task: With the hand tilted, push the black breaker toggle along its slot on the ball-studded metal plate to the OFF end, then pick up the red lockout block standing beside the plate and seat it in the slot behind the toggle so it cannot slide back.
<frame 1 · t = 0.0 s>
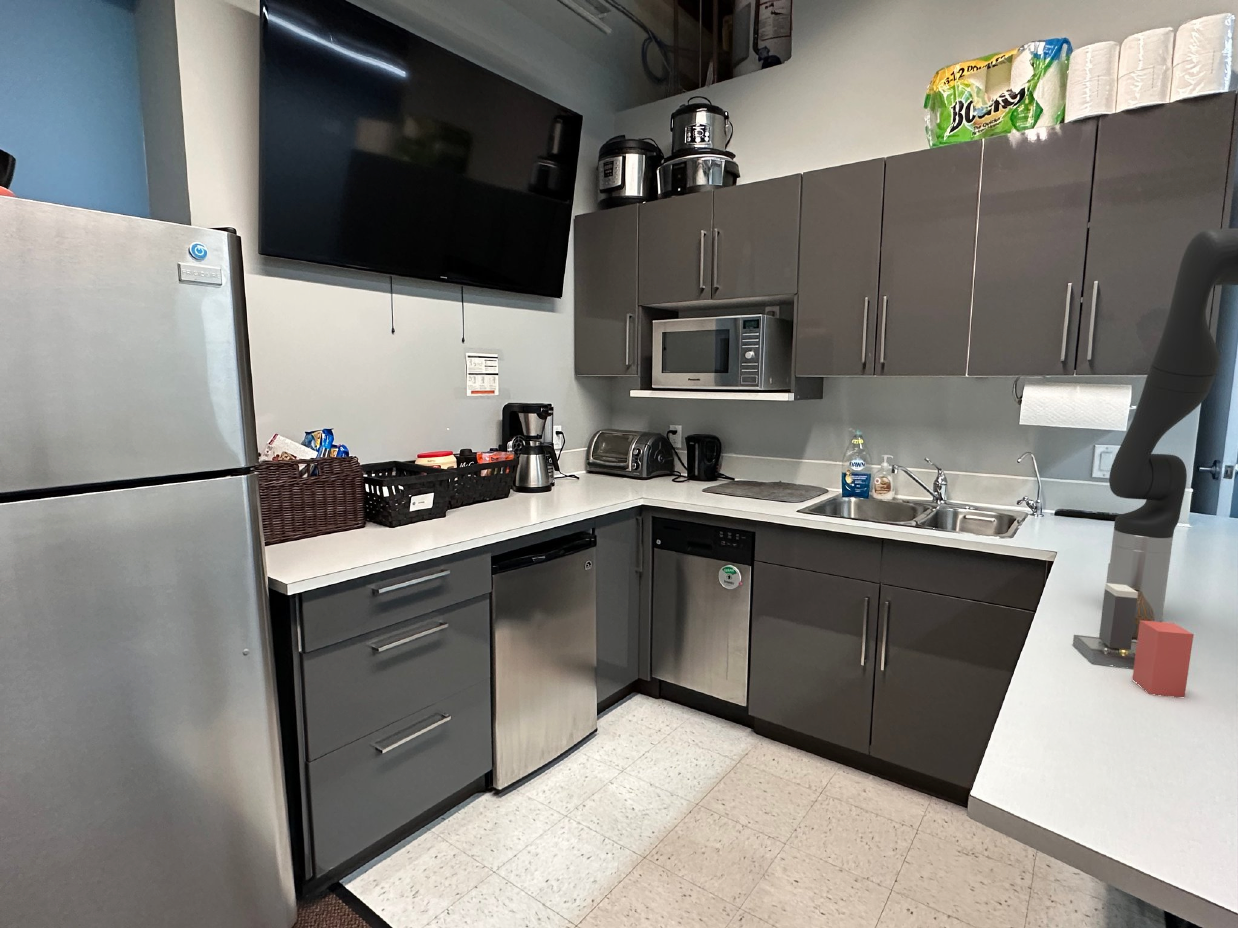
ball-studded metal plate: (1126, 659, 106), on the worktop
breaker toggle: (1117, 615, 106), point 8 cm above the worktop, slide at 0.0 cm
vase: (1127, 635, 117), on the worktop
lockout block: (1157, 689, 96), on the worktop
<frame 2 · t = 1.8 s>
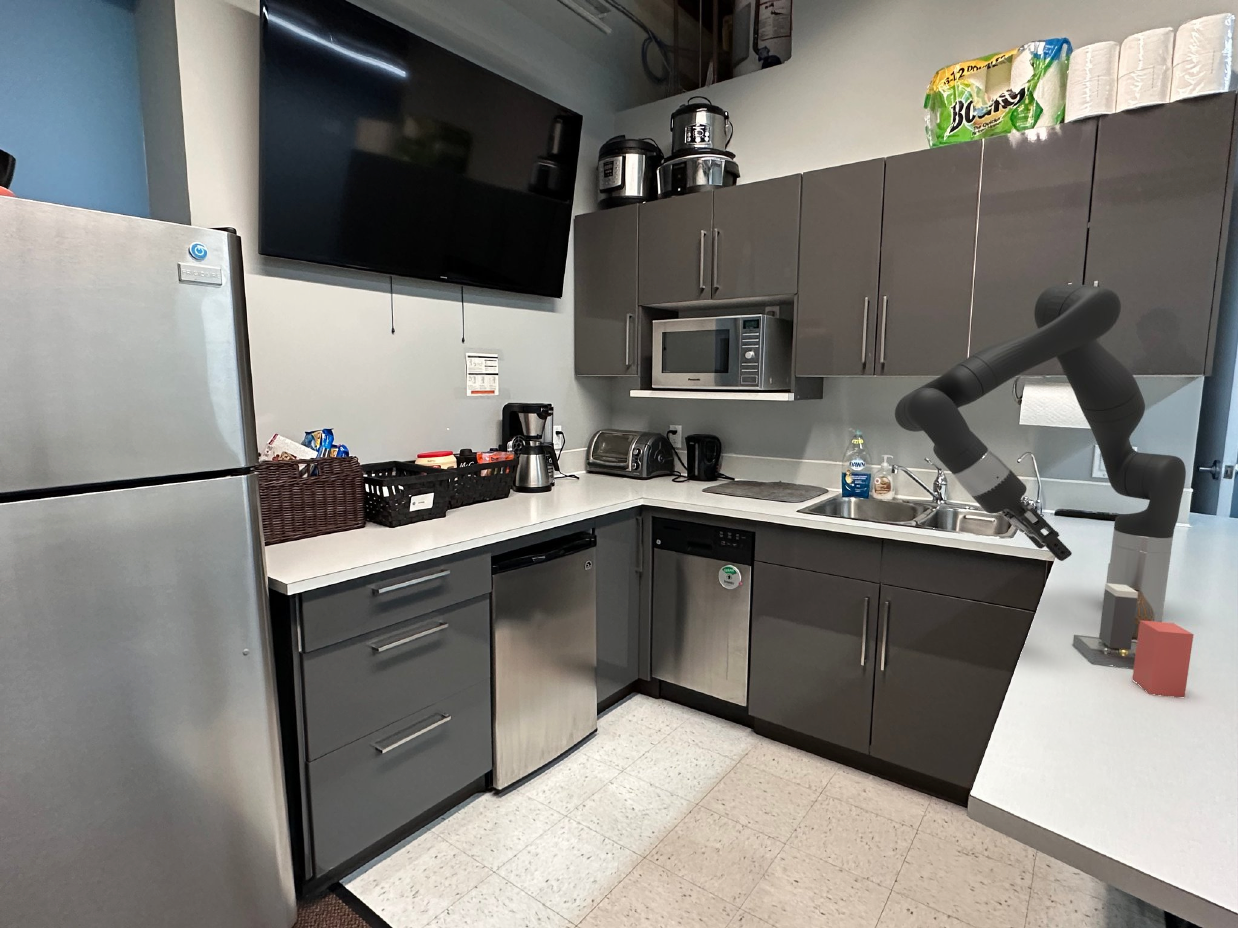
hand: (1055, 551, 106), 18 cm above the worktop, tool tilted 45°, fingers open, 8 cm apart
nothing on the worktop moved.
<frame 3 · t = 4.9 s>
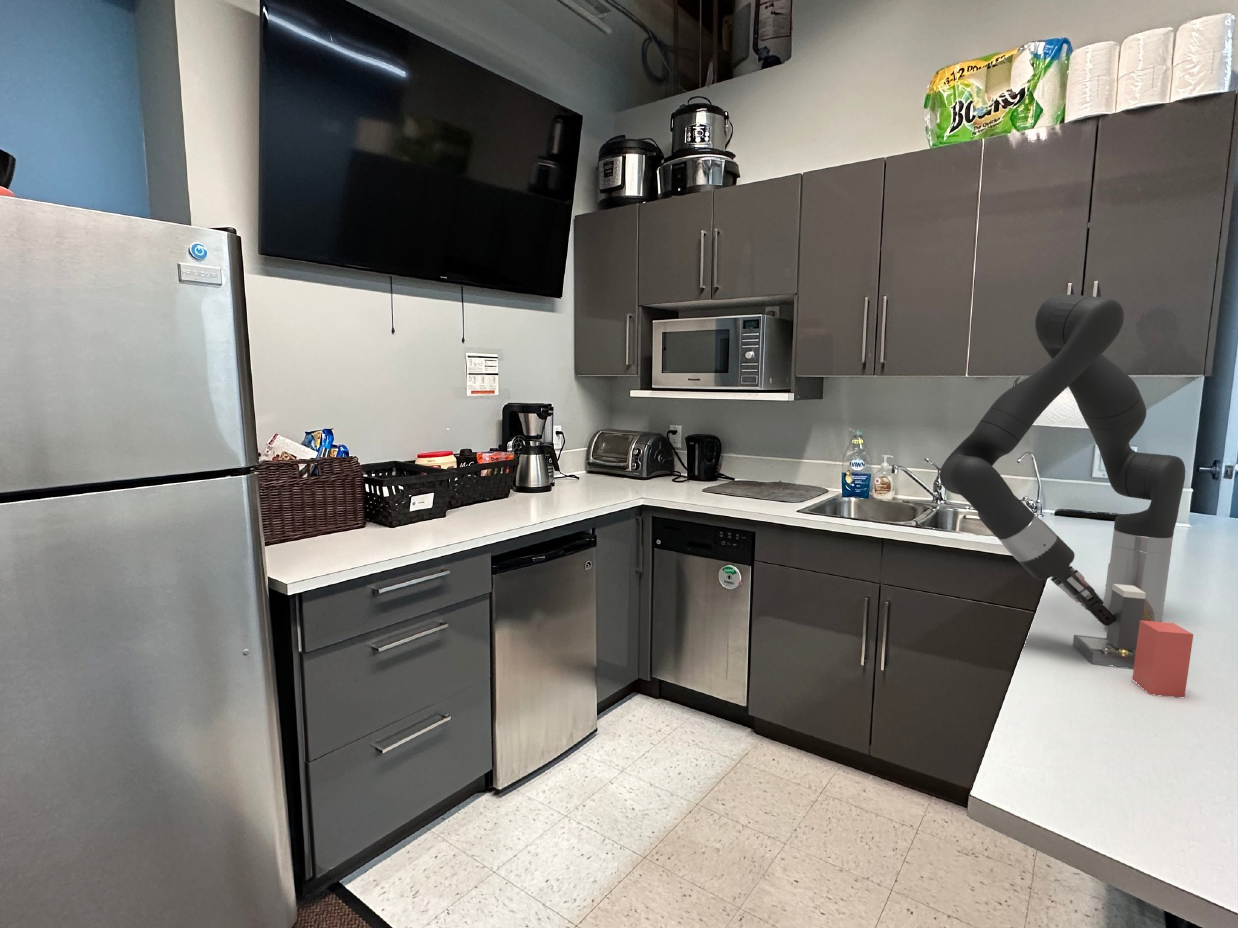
hand: (1109, 621, 106), 6 cm above the worktop, tool tilted 45°, fingers closed
breaker toggle: (1125, 616, 105), point 8 cm above the worktop, slide at 1.1 cm, touching gripper
everything else where it was.
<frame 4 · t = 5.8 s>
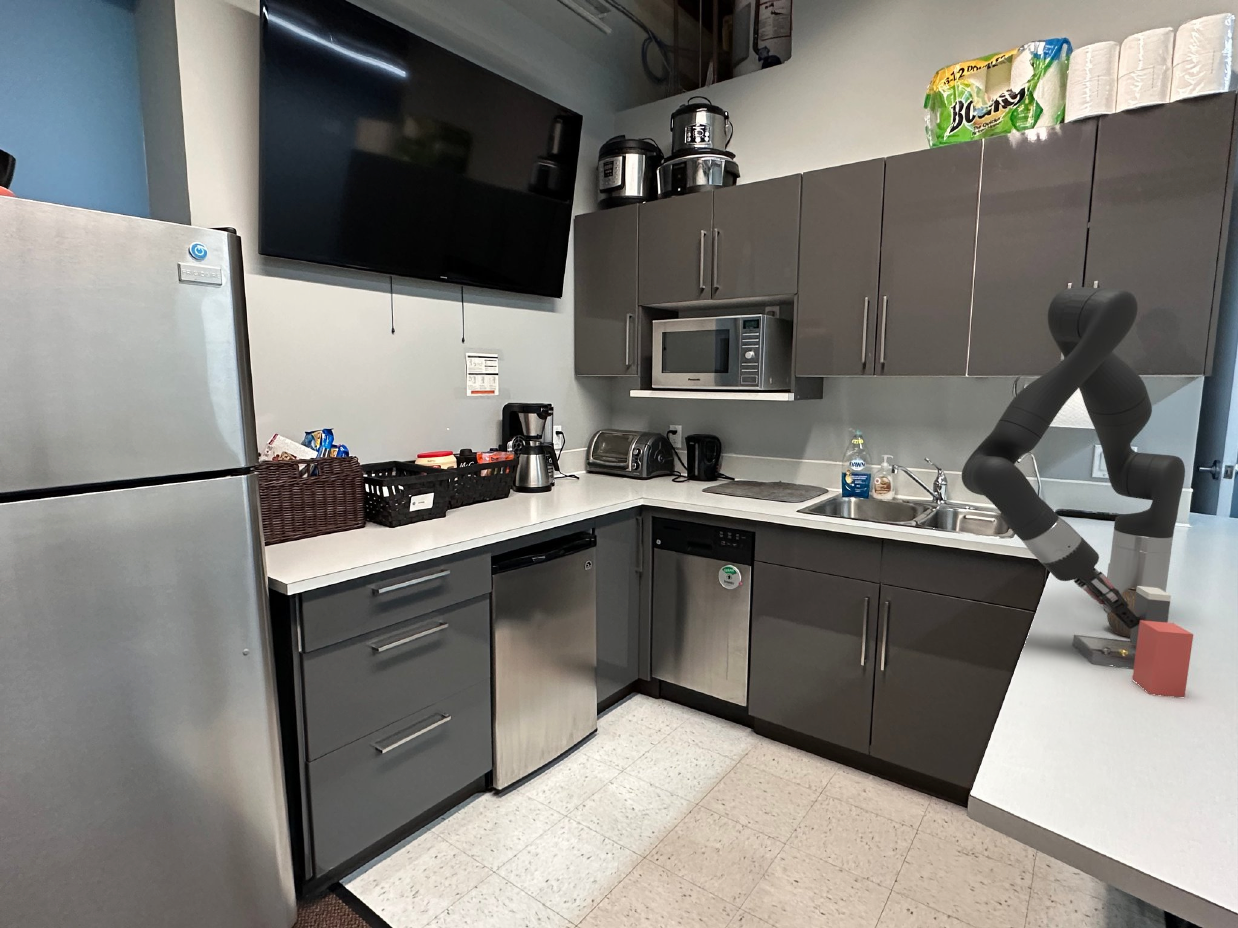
hand: (1133, 624, 105), 6 cm above the worktop, tool tilted 45°, fingers closed
breaker toggle: (1149, 619, 104), point 8 cm above the worktop, slide at 4.5 cm, touching gripper
everything else where it was.
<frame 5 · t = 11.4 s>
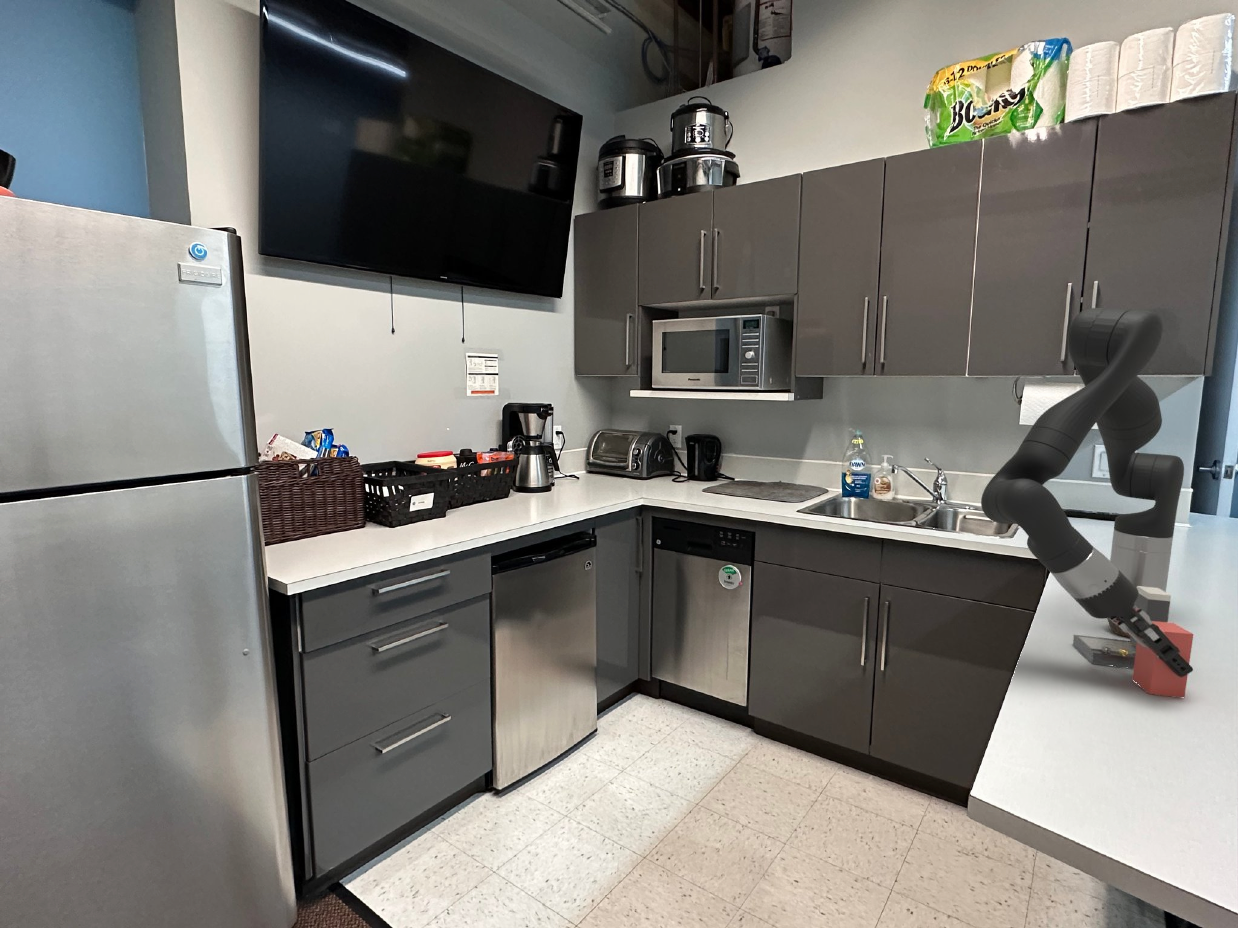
hand: (1175, 664, 95), 4 cm above the worktop, tool tilted 45°, fingers closed on lockout block, 4 cm apart
breaker toggle: (1149, 619, 104), point 8 cm above the worktop, slide at 4.5 cm
lockout block: (1157, 688, 96), on the worktop, touching gripper
everything else where it was.
when the fingers open (8 cm above the worktop, at t = 16.6 s): lockout block drops 1 cm, resting on ball-studded metal plate.
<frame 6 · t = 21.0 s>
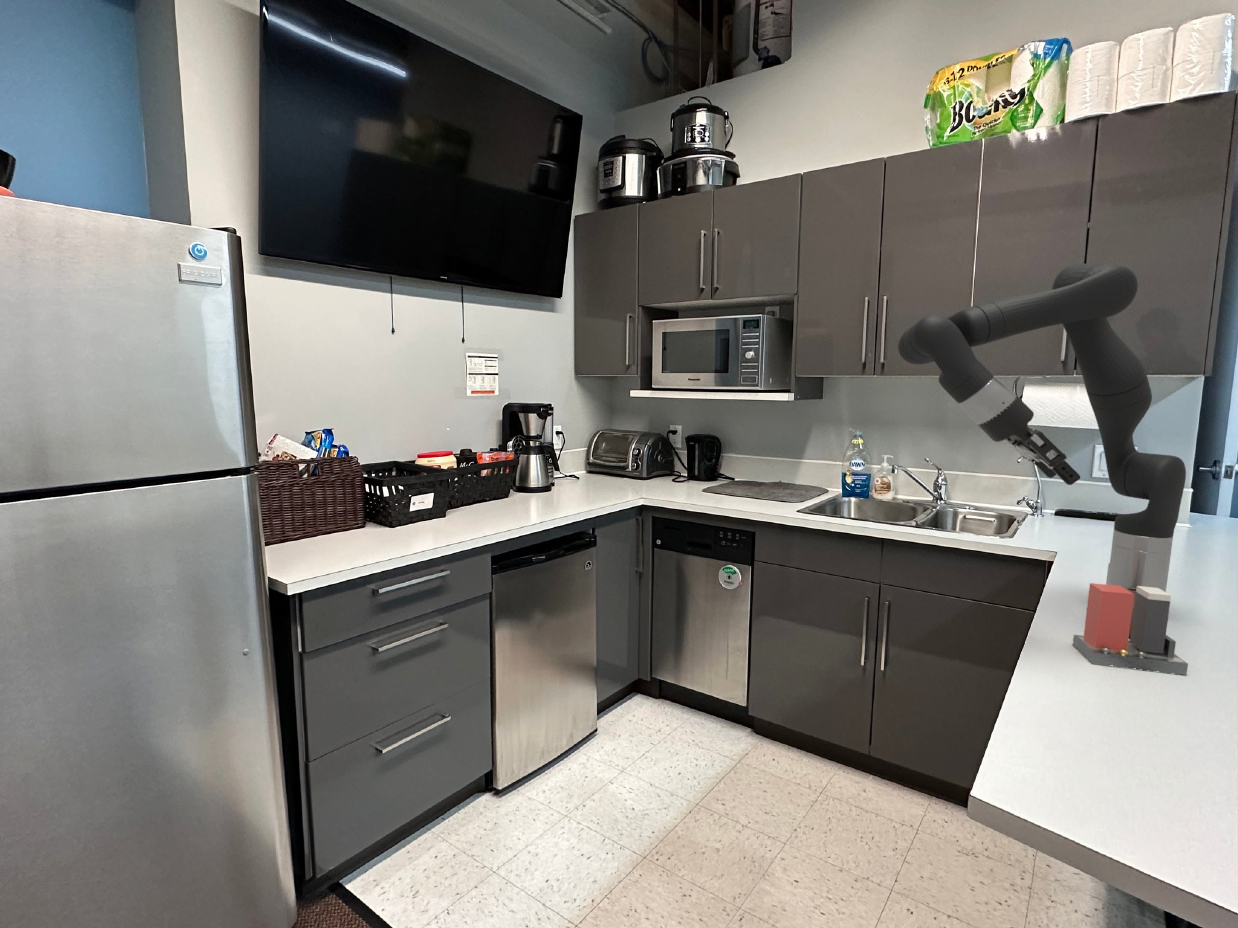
hand: (1064, 477, 105), 31 cm above the worktop, tool tilted 45°, fingers open, 8 cm apart
lockout block: (1104, 644, 107), point 2 cm above the worktop, touching ball-studded metal plate
everything else where it was.
at the end: breaker toggle slide at 4.5 cm; lockout block 0.2 cm from the target spot on the ball-studded metal plate, point 2.2 cm above the ball-studded metal plate's base; lockout block tilted 0° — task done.
